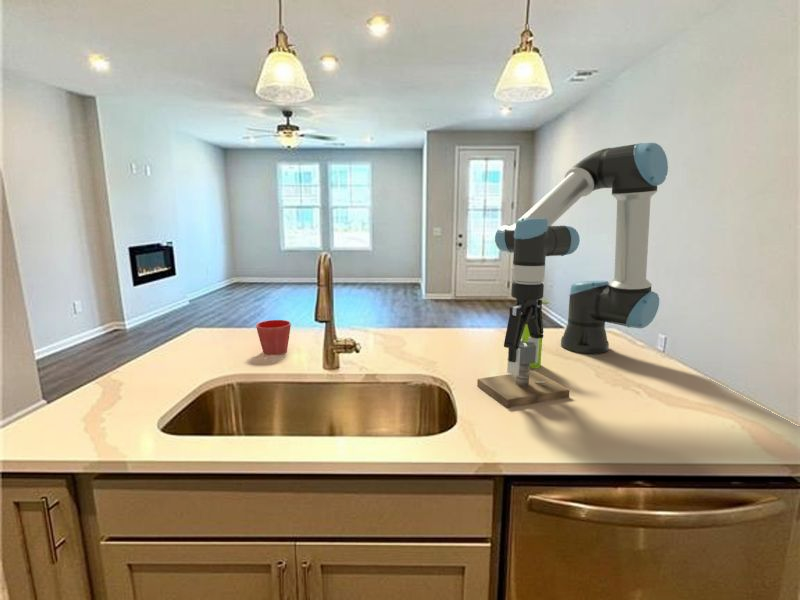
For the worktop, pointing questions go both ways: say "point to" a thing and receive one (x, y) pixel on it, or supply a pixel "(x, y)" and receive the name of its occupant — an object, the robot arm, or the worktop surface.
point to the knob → (527, 352)
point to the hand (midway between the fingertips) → (523, 367)
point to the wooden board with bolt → (522, 387)
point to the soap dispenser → (525, 338)
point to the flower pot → (274, 336)
